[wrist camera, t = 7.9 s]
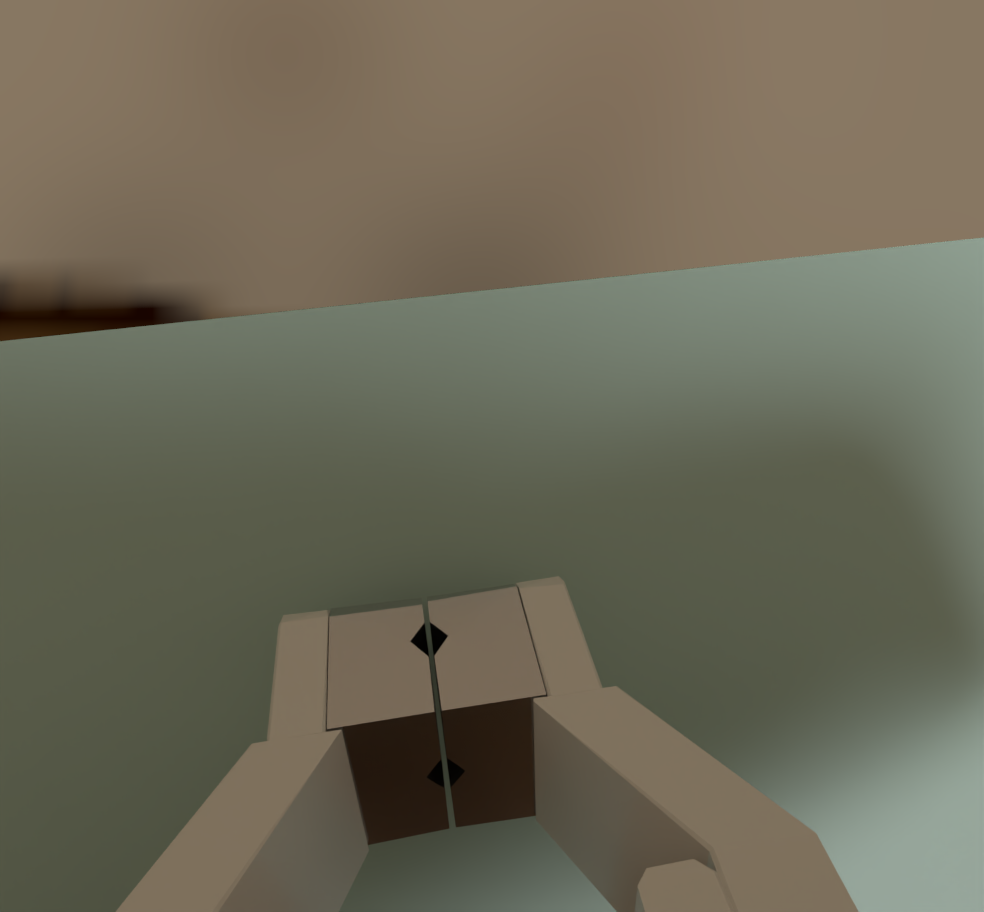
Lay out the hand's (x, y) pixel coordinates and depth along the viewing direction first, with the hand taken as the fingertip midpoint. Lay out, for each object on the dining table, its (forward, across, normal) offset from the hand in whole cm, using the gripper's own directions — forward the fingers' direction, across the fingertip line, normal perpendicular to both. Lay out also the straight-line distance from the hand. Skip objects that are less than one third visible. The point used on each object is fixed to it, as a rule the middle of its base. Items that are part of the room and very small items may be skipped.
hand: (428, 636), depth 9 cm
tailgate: (-2, 0, -5) cm, 6 cm away
